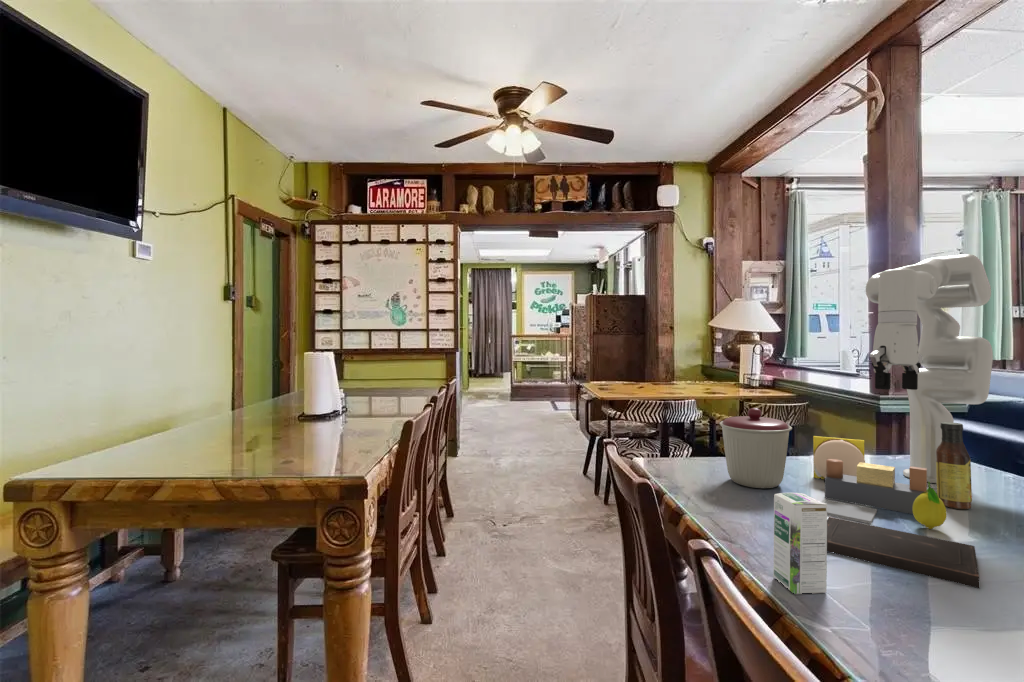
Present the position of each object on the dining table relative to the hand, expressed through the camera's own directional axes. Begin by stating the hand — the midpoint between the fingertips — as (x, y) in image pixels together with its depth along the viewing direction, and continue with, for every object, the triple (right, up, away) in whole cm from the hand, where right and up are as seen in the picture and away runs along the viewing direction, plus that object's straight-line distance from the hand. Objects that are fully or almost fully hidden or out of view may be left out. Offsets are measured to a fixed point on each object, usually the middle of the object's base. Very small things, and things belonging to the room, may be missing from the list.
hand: (896, 389), depth 119 cm
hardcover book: (-22, -29, -27) cm, 45 cm away
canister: (-26, -28, +17) cm, 42 cm away
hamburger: (-2, -28, +18) cm, 33 cm away
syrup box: (-47, -29, -39) cm, 68 cm away
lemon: (-6, -28, -16) cm, 33 cm away
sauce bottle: (+12, -28, -2) cm, 30 cm away
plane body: (-5, -28, 0) cm, 28 cm away
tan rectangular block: (-5, -23, 0) cm, 24 cm away
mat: (-16, -28, -6) cm, 33 cm away
